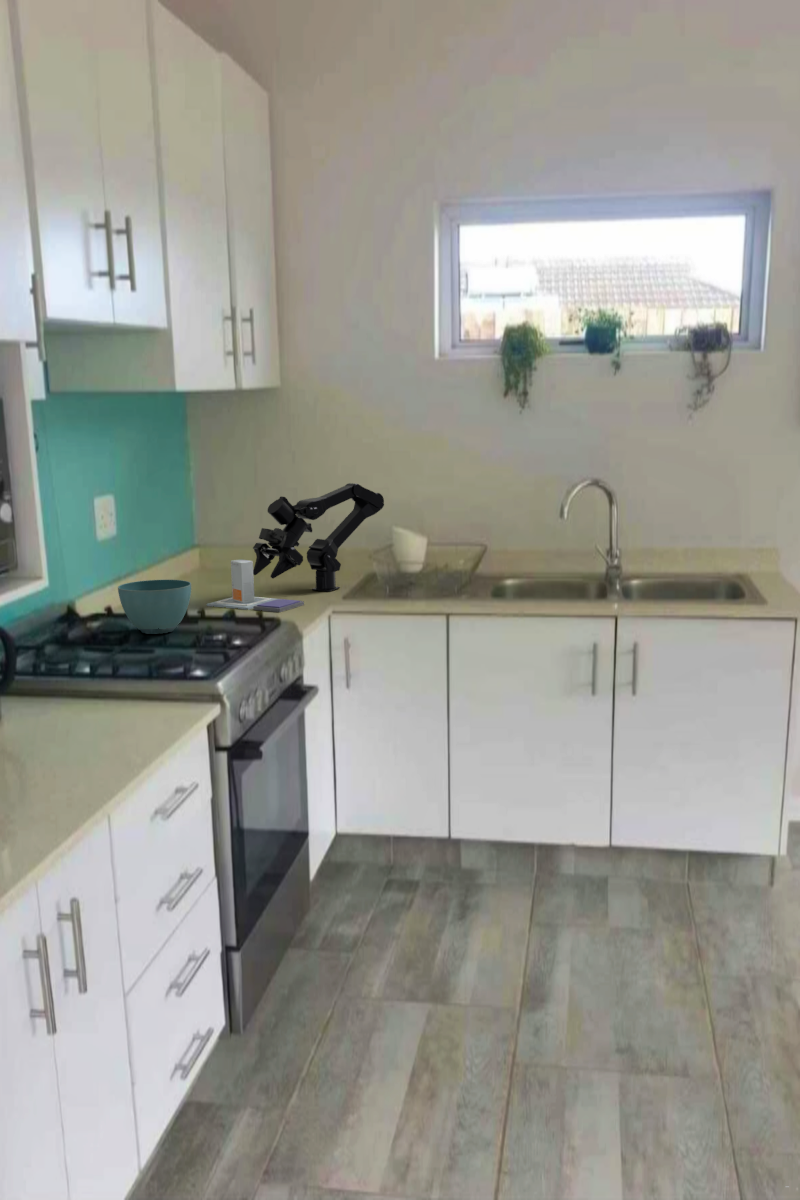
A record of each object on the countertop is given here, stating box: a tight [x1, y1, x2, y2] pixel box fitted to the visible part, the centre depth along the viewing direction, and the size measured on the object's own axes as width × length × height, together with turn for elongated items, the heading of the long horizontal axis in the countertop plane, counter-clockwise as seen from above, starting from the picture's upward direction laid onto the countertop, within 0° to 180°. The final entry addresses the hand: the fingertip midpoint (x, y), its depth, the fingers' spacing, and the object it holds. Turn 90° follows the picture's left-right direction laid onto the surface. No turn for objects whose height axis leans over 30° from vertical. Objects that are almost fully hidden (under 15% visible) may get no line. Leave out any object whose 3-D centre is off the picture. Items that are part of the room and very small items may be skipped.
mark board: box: [206, 596, 278, 611], centre depth 303 cm, size 15×15×1 cm
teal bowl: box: [117, 579, 192, 629], centre depth 265 cm, size 18×18×12 cm
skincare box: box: [230, 559, 256, 603], centre depth 302 cm, size 6×4×12 cm
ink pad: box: [253, 598, 305, 613], centre depth 296 cm, size 12×9×1 cm
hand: (262, 576), depth 307 cm, fingers open, 9 cm apart
